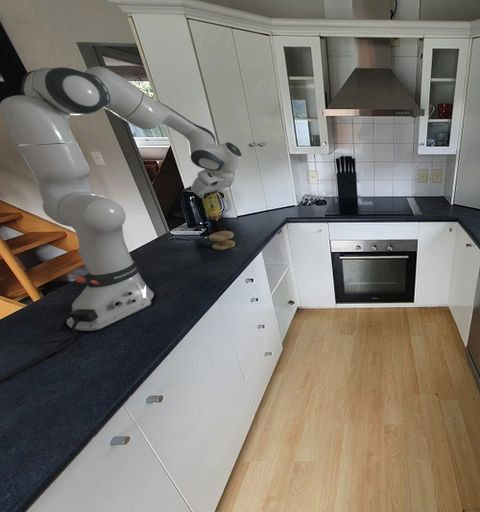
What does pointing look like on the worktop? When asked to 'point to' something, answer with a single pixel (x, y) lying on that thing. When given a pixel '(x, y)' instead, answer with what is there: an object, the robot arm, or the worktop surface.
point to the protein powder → (216, 225)
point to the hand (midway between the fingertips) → (207, 195)
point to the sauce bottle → (212, 206)
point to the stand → (222, 240)
